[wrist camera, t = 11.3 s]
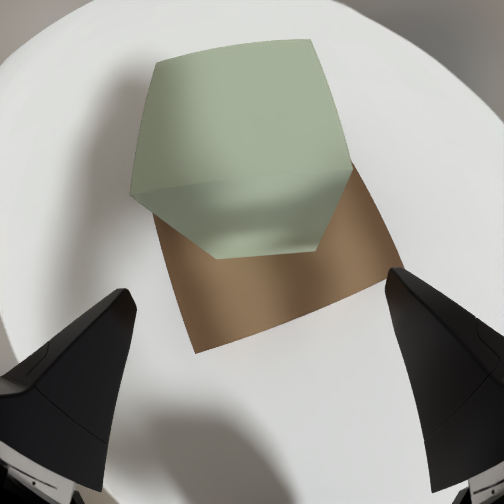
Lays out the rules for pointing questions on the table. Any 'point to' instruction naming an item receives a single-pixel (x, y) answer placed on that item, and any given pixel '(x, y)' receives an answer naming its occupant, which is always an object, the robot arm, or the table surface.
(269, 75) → the sage block
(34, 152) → the table surface
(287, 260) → the walnut plinth
